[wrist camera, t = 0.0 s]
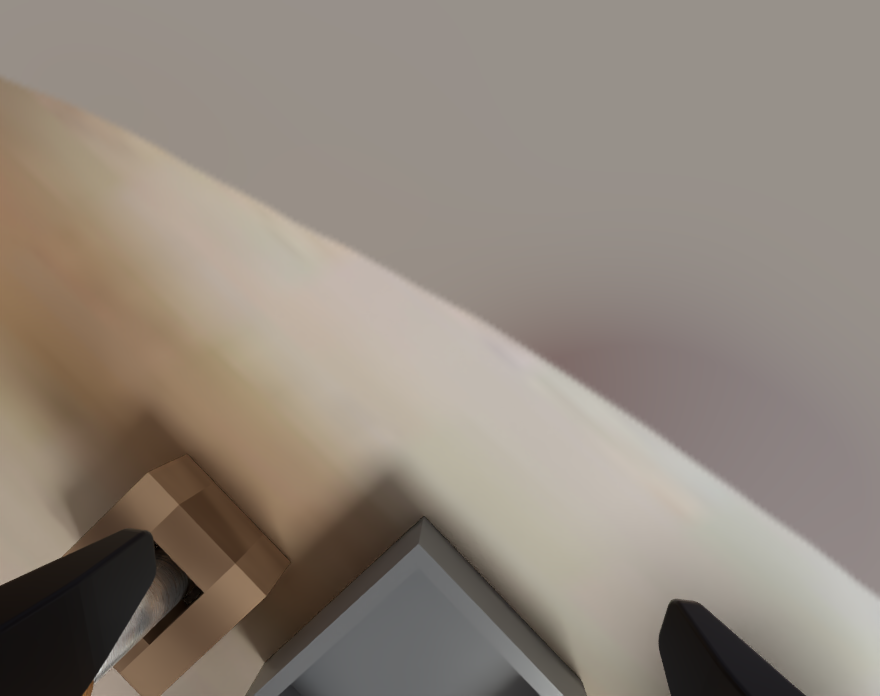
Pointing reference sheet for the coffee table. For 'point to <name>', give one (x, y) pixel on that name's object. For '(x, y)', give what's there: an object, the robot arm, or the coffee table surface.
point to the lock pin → (150, 609)
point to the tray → (417, 635)
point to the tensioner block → (191, 567)
